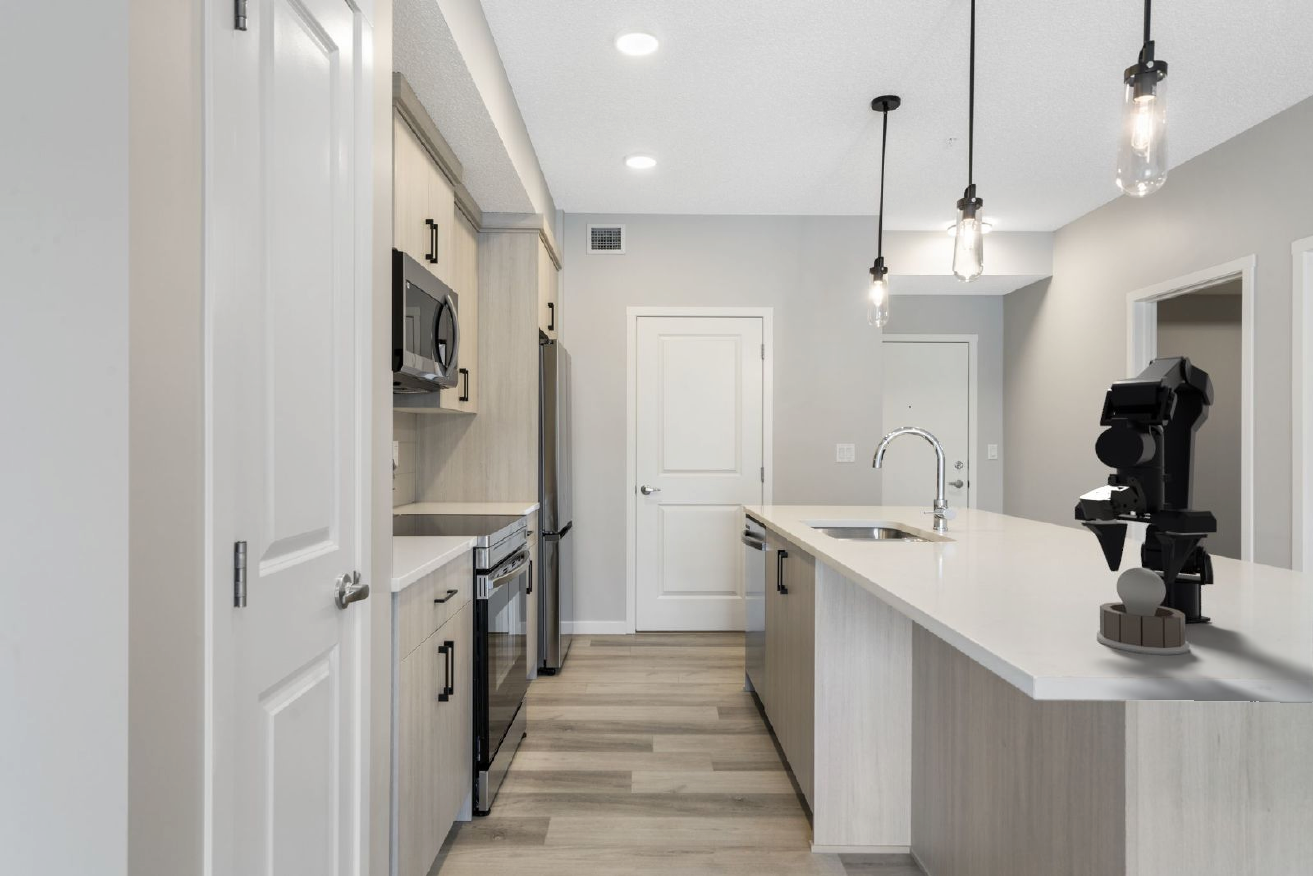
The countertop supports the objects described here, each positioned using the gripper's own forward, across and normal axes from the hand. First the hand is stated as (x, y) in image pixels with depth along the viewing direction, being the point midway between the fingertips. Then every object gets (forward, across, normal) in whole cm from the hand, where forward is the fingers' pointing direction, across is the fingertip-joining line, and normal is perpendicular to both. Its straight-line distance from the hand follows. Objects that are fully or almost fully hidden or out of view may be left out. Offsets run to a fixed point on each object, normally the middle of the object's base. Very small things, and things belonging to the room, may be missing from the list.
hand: (1140, 576), depth 106 cm
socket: (+10, 0, 0) cm, 10 cm away
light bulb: (+9, 0, 0) cm, 9 cm away
